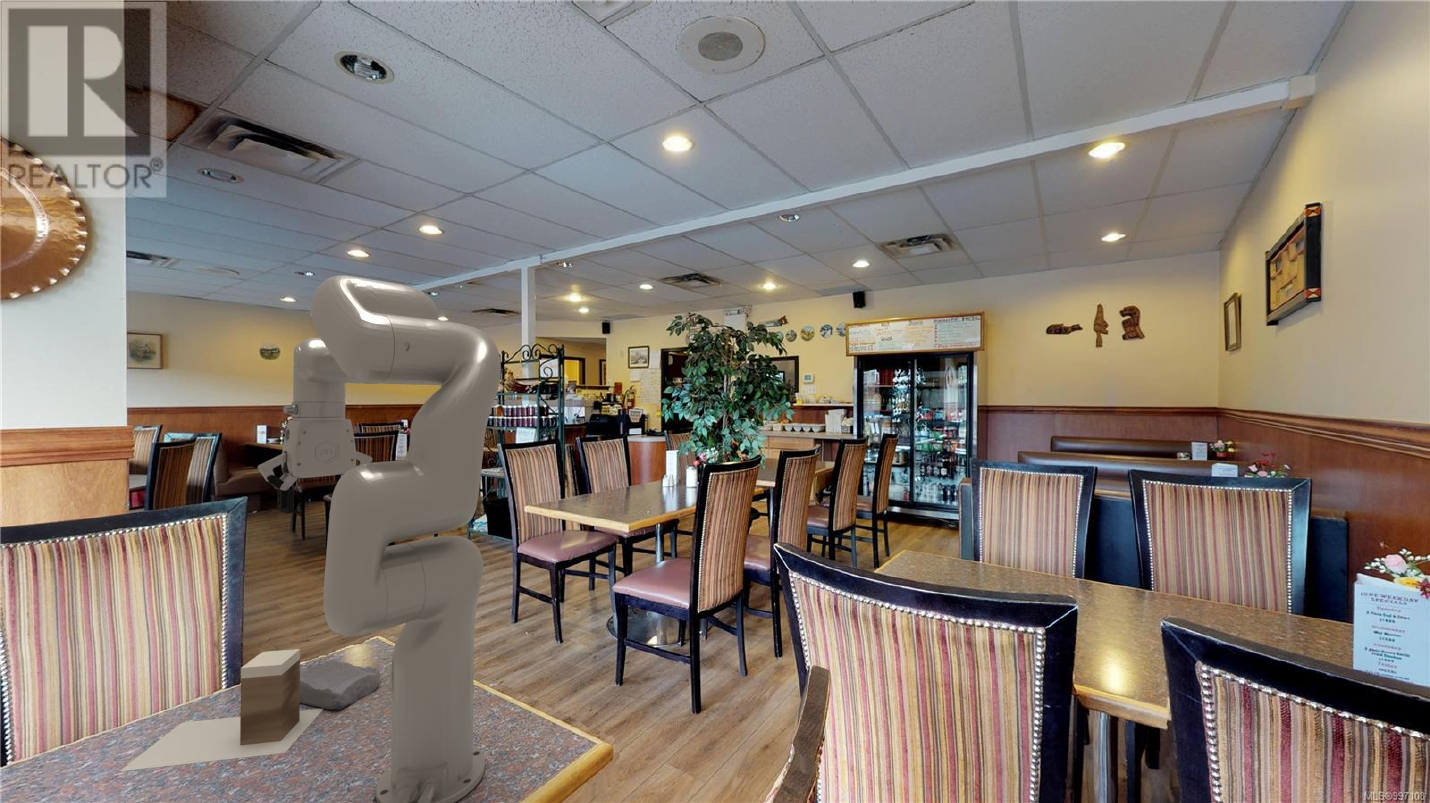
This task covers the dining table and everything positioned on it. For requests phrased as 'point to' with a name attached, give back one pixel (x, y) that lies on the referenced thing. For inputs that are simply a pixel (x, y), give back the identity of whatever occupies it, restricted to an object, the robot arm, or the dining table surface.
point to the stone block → (336, 684)
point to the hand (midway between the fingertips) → (318, 507)
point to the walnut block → (270, 696)
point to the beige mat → (213, 743)
